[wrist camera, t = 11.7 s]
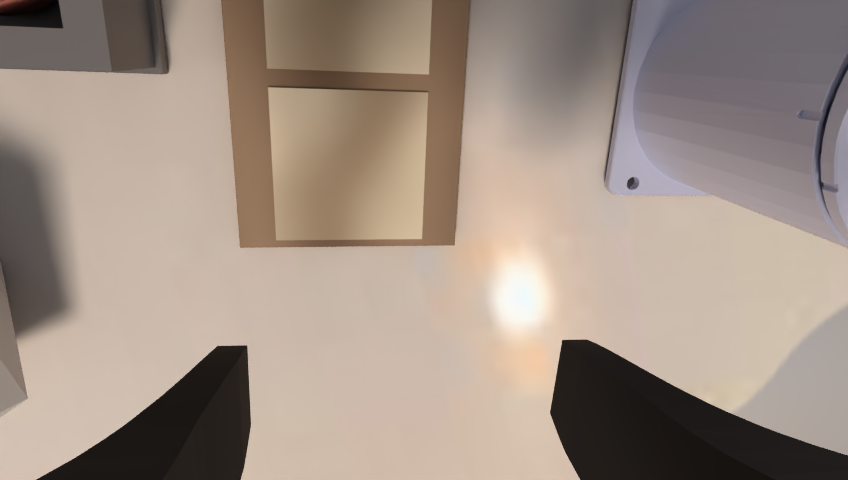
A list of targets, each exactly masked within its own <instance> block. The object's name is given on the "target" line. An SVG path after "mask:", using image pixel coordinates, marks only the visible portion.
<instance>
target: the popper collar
mask: <svg viewBox="0 0 848 480" xmlns="http://www.w3.org/2000/svg"><path fill="white" fill-rule="evenodd" d="M0 68H1V69H30V70H58V71H87V72H115V73H144V74H167V73H168V67H167V58H166V49H165V40H164V31H163V22H162V13H161V4H160V0H54V1H53V2H51V3H50V4H48V5H47V6H45V7H43V8H41V9H39V10H37V11H34V12H30V13H27V14H22V15H16V16H0Z"/></svg>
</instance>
